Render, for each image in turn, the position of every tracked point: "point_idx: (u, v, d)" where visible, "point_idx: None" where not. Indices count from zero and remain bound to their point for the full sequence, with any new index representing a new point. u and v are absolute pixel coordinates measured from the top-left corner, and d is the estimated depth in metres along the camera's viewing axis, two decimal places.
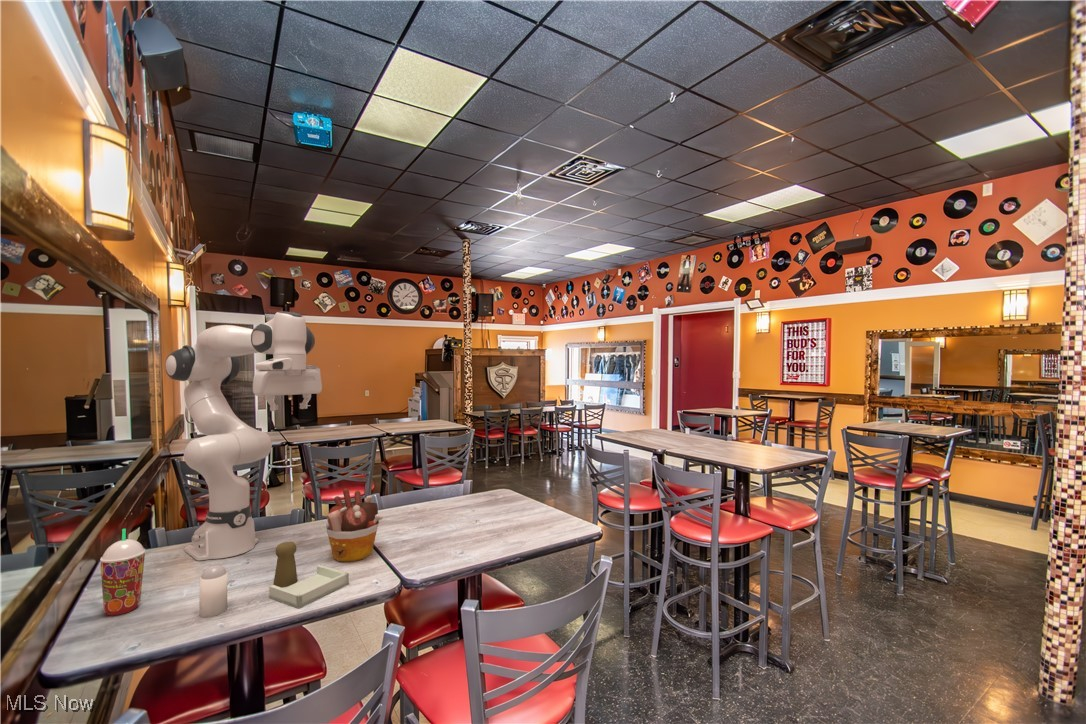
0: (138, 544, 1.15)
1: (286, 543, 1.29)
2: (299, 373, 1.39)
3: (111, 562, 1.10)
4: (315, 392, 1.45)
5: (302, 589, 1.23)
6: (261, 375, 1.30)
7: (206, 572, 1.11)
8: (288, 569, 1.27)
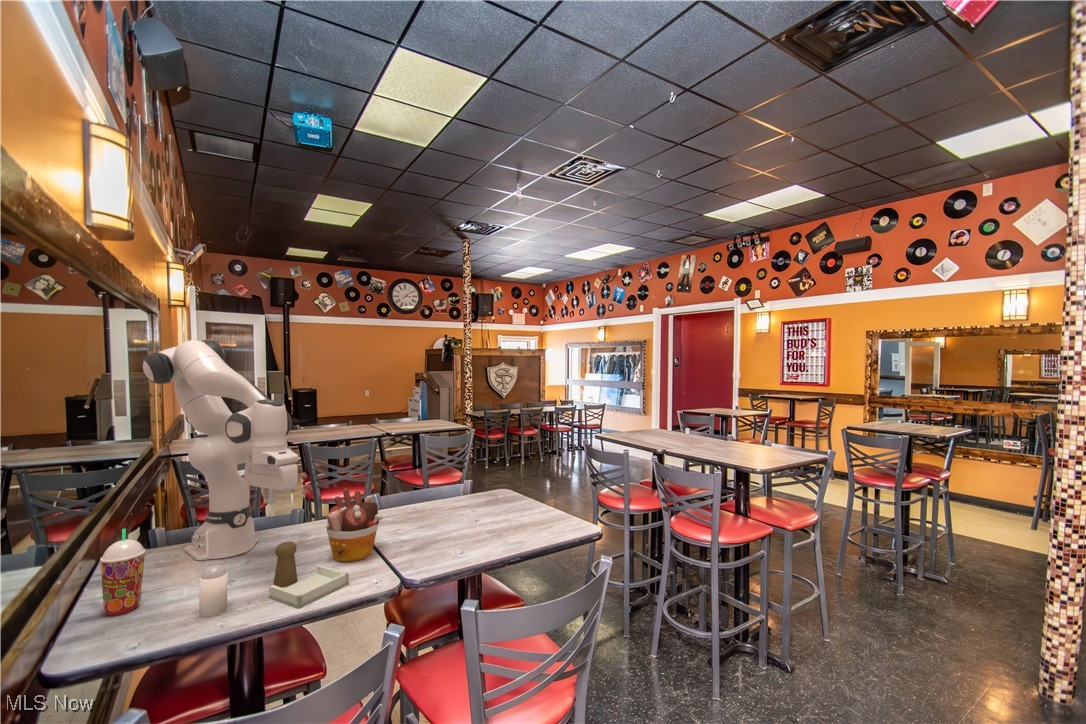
0: (138, 544, 1.15)
1: (286, 543, 1.29)
2: None
3: (111, 562, 1.10)
4: None
5: (302, 589, 1.23)
6: (294, 468, 1.30)
7: (206, 572, 1.11)
8: (288, 569, 1.27)
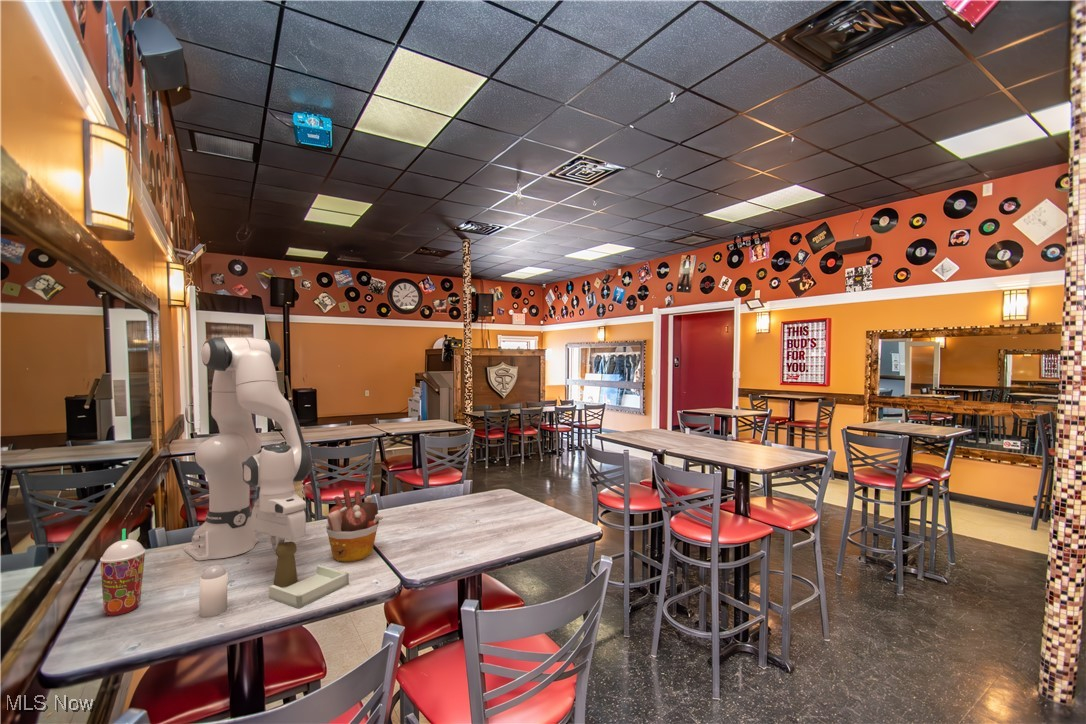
0: (138, 544, 1.15)
1: (286, 543, 1.29)
2: None
3: (111, 562, 1.10)
4: None
5: (302, 589, 1.23)
6: (302, 516, 1.28)
7: (206, 572, 1.11)
8: (288, 569, 1.27)
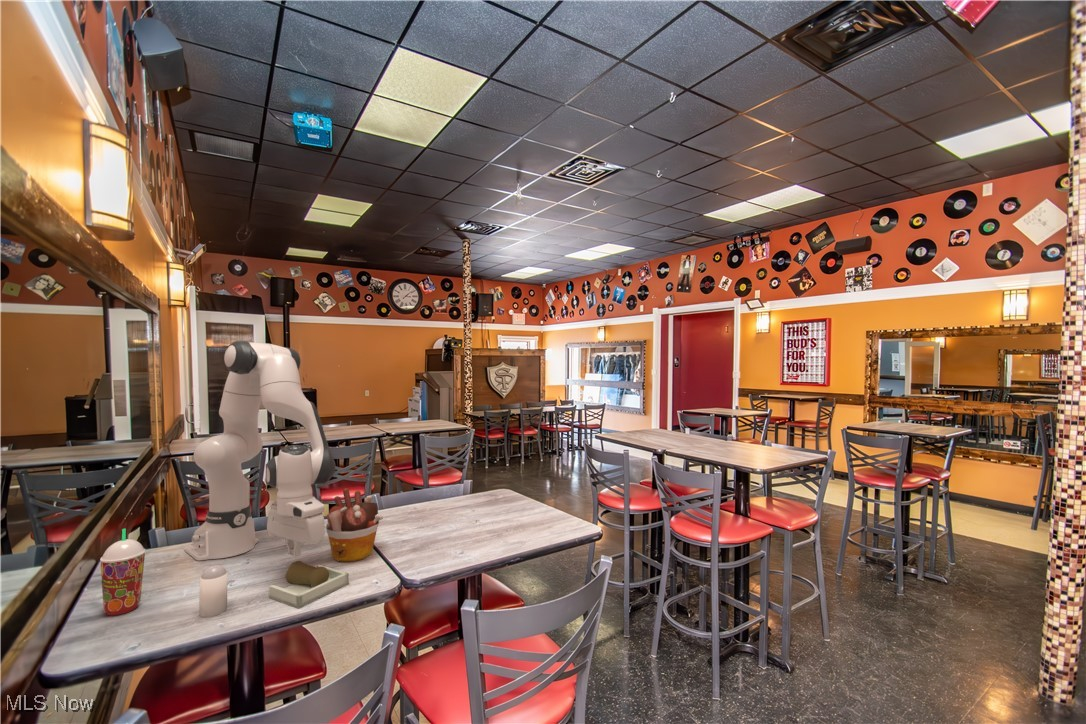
0: (138, 544, 1.15)
1: (323, 578, 1.24)
2: None
3: (111, 562, 1.10)
4: None
5: (302, 589, 1.23)
6: (321, 520, 1.24)
7: (206, 572, 1.11)
8: (301, 583, 1.25)
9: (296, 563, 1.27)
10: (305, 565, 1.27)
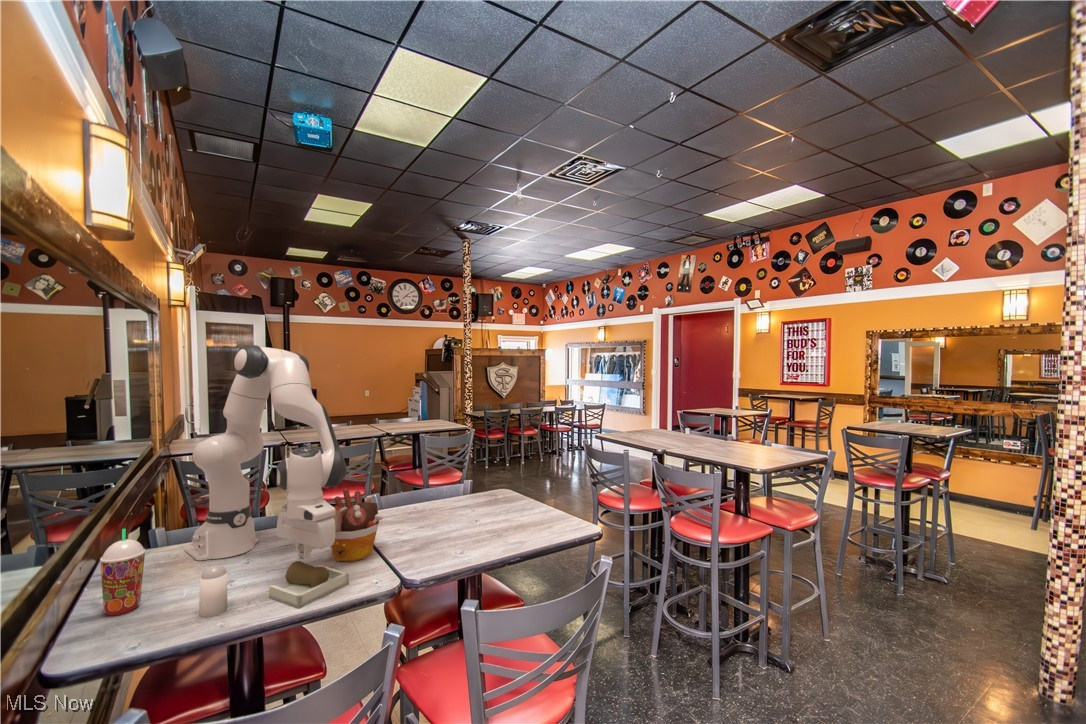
0: (138, 544, 1.15)
1: (323, 578, 1.24)
2: None
3: (111, 562, 1.10)
4: None
5: (302, 589, 1.23)
6: (332, 523, 1.22)
7: (206, 572, 1.11)
8: (301, 583, 1.25)
9: (296, 563, 1.27)
10: (305, 565, 1.27)
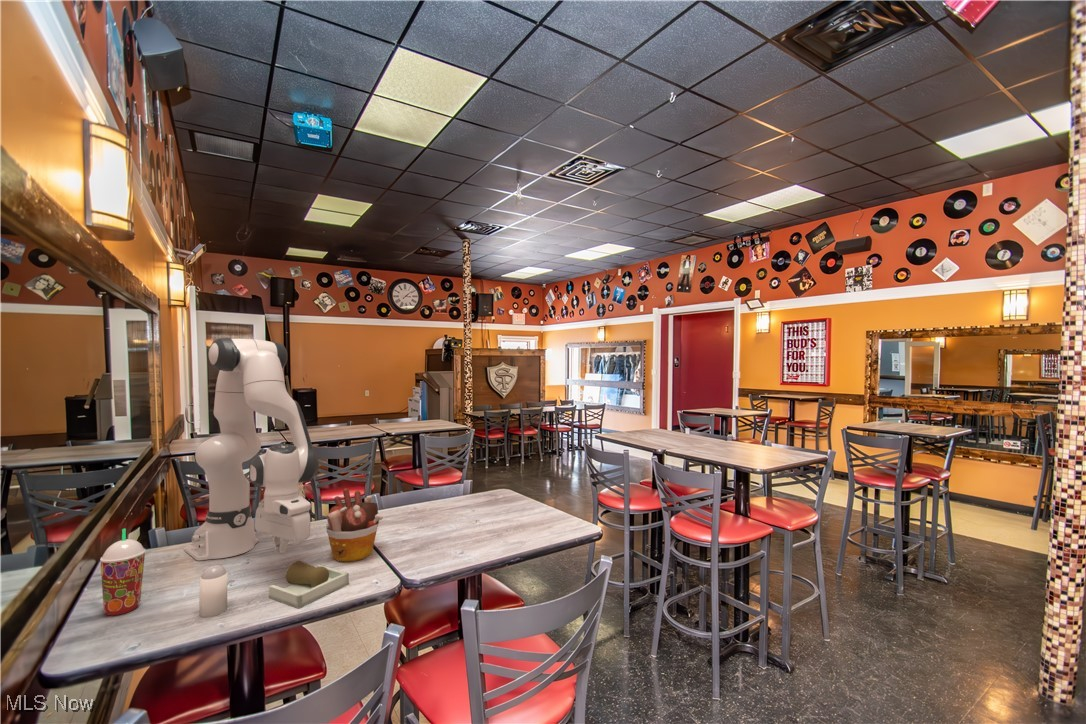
0: (138, 544, 1.15)
1: (323, 578, 1.24)
2: None
3: (111, 562, 1.10)
4: None
5: (302, 589, 1.23)
6: (307, 518, 1.27)
7: (206, 572, 1.11)
8: (301, 583, 1.25)
9: (296, 563, 1.27)
10: (305, 565, 1.27)
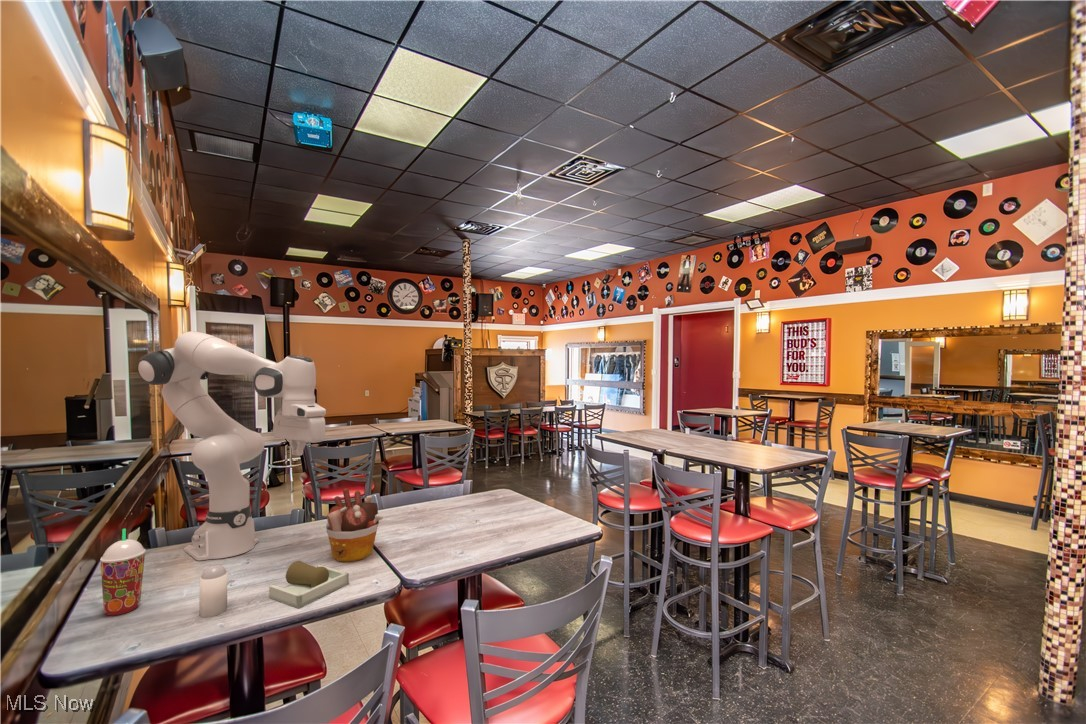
0: (138, 544, 1.15)
1: (323, 578, 1.24)
2: None
3: (111, 562, 1.10)
4: None
5: (302, 589, 1.23)
6: (322, 421, 1.35)
7: (206, 572, 1.11)
8: (301, 583, 1.25)
9: (296, 563, 1.27)
10: (305, 565, 1.27)
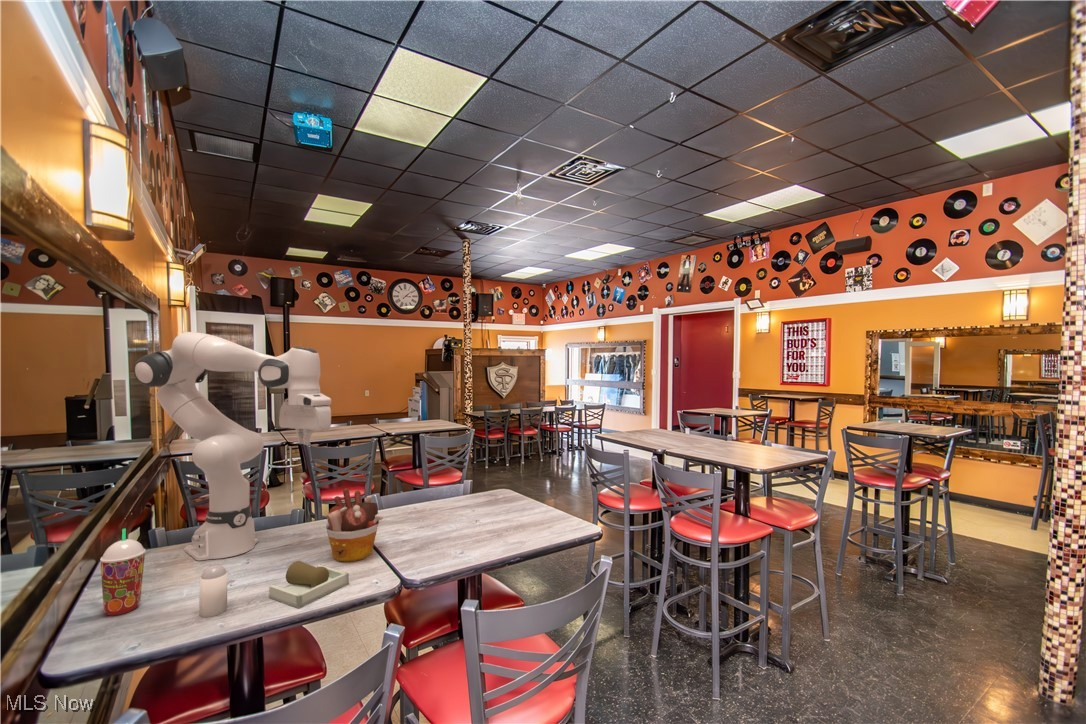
0: (138, 544, 1.15)
1: (323, 578, 1.24)
2: None
3: (111, 562, 1.10)
4: None
5: (302, 589, 1.23)
6: (328, 410, 1.39)
7: (206, 572, 1.11)
8: (301, 583, 1.25)
9: (296, 563, 1.27)
10: (305, 565, 1.27)
